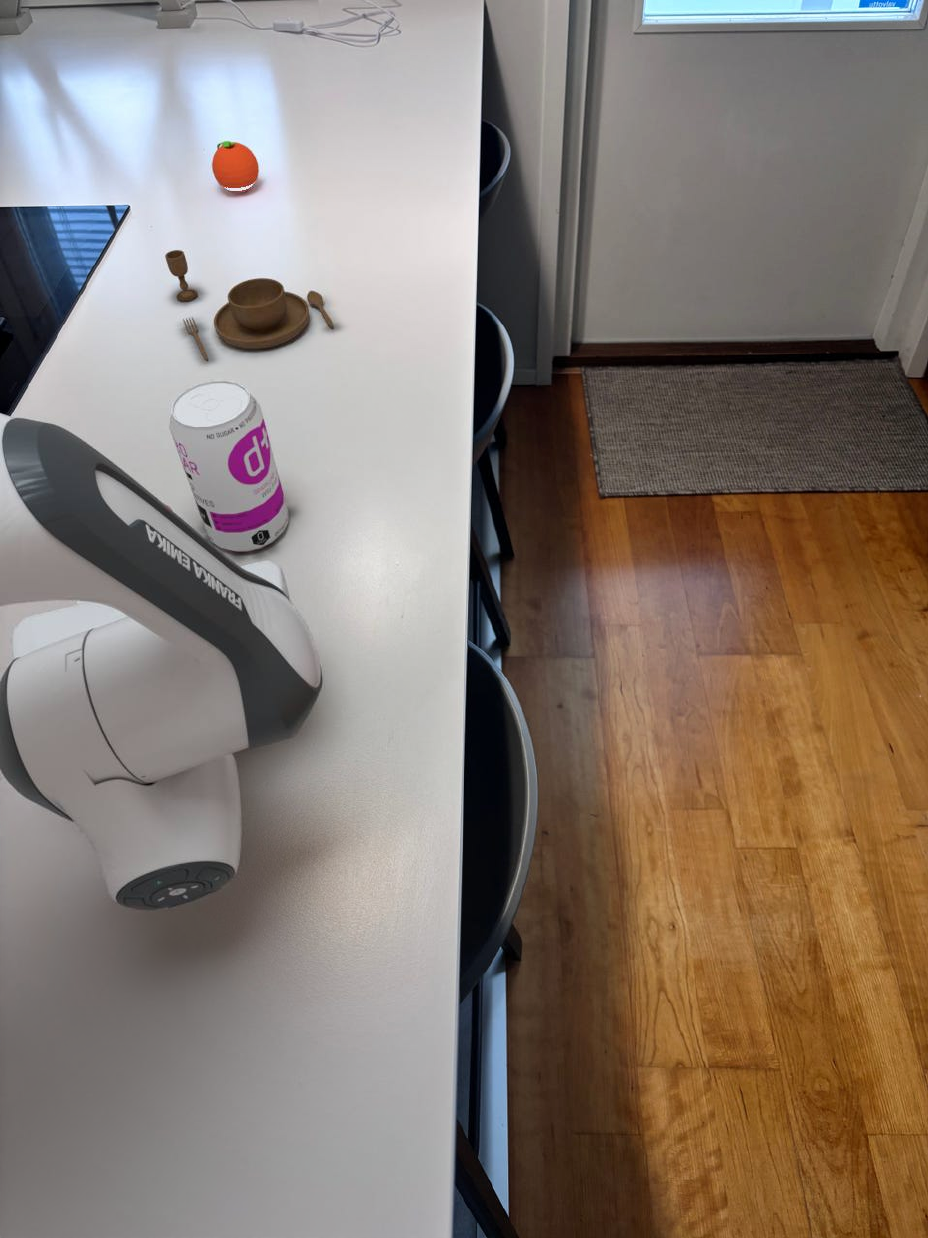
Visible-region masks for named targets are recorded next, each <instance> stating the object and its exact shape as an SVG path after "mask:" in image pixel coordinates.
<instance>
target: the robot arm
mask: <svg viewBox="0 0 928 1238" xmlns="http://www.w3.org/2000/svg"><path fill="white" fill-rule="evenodd" d="M163 503H164V502H162V501H161V500H160V499H159V498H157V497H156V496H155V495H154V494H152V492H150V491H149V490H148V489H147V488H146V487H144V486H143V485H142V484H140V482H138V481H137V480H135V479H134V478H133V477H132V476H131V475H129V474H128V473H127V472H126V471H124V470H123V469H122V468H121V467H119V466H118V465H117V464H115V462H113V461H112V460H110V459H109V458H108V457H107V456H105V455H104V454H103V453H102V452H100V451H99V450H97V449H96V448H94V447H93V446H92V445H91V444H89V443H88V442H86V441H85V440H83V439H82V438H81V437H79V436H77V435H76V434H74V433H73V432H71V431H69V430H67V429H66V428H64V427H62V426H60V425H57V424H54V423H51V422H50V423H49V422H44V421H38V420H34V419H30V418H29V419H28V418H23V417H15V416H14V417H13V416H11V415H7V414H4V413H1V412H0V607H6V606H7V607H8V606H13V605H20V604H29V603H39V602H56V601H62V602H63V601H68V602H69V601H70V602H71V601H73V602H76V603H75V605H71V606H67V607H63V608H58V609H54V610H49V611H46V612H42V613H41V612H40V613H37V614H32V615H28V616H25V617H24V618H23V619H21V620H20V621H19V622H18V623H17V625H16V626H14V627H13V629H12V632H11V655H12V661H11V662H10V663H9V665H8V667H6V669H5V671H4V672H3V674H2V676H1V679H0V772H1V773H2V775H3V777H4V779H5V780H6V781H7V782H8V784H10V786H11V787H12V788H13V789H14V790H15V791H16V792H18V794H20V795H21V796H22V797H24V798H26V799H27V800H29V801H31V802H33V803H34V804H36V805H38V806H40V807H42V808H43V809H46V810H48V811H49V812H51V813H54V814H55V815H57V816H59V817H60V818H63V819H65V820H67V821H69V822H72V823H74V824H76V826H77V827H78V829H79V830H80V831H81V832H82V834H83V835H84V836H85V838H86V839H87V841H88V842H89V844H90V846H91V847H92V849H93V851H94V853H95V855H96V858H97V860H98V863H99V865H100V869H101V873H102V876H103V880H104V884H105V887H106V889H107V892H108V895H109V896H110V897H111V899H112V900H113V901H114V902H116V904H118V905H120V906H122V907H125V908H127V909H128V908H129V909H134V910H139V911H156V910H164V909H174V908H177V907H179V906H182V905H186V904H189V903H192V902H194V901H197V900H199V899H202V898H204V897H207V896H209V895H212V894H214V893H215V892H218V891H219V890H221V889H222V888H223V887H224V886H225V885H227V884H228V883H230V882H231V881H232V880H233V878H234V877H235V876H236V874H237V872H238V869H239V865H240V861H241V851H242V803H241V802H242V801H241V791H240V790H241V789H240V780H239V772H238V766H237V762H236V758H235V756H234V753H237V752H240V751H243V750H245V749H249V750H252V749H256V748H259V747H263V746H266V745H270V744H273V743H277V742H280V741H284V740H288V739H291V738H294V737H295V736H297V734H298V732H299V731H300V729H301V728H302V726H303V725H304V723H305V722H306V720H307V718H308V717H309V715H310V714H311V711H312V710H313V708H314V705H315V704H316V701H317V700H318V698H319V695H320V693H321V691H322V687H323V680H324V679H323V671H322V667H321V660H320V656H319V651H318V648H317V645H316V641H315V638H314V636H313V634H312V631H311V629H310V627H309V624H308V623H307V621H306V619H305V618H304V616H303V614H302V613H301V611H300V610H299V609H298V608H297V606H295V604H294V603H293V601H292V600H291V598H290V597H291V596H290V593H289V589H288V584H287V580H286V577H285V574H284V572H283V571H284V570H283V569H282V567H281V566H280V565H279V564H278V563H275V562H273V561H272V560H269V559H267V560H266V559H265V560H260V561H256V562H252V563H248V564H244V565H238V564H237V563H236V562H235V561H233V560H232V559H230V557H228V556H227V555H226V554H225V553H223V552H222V551H221V550H219V548H218V547H216V546H215V545H214V544H213V543H211V542H210V541H209V540H208V539H207V538H206V537H204V536H203V535H202V534H201V533H200V532H199V531H197V530H196V529H195V528H194V527H192V526H191V525H190V524H189V523H188V522H186V521H185V520H184V519H183V518H181V517H180V516H179V515H178V514H177V513H175V511H174V510H173V509H172V508H171V509H172V510H171V509H169V508H168V507H167V506H168V505H167V504H166V505H167V506H166V505H165V503H164V504H163Z"/></svg>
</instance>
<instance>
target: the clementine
mask: <svg viewBox="0 0 928 1238" xmlns="http://www.w3.org/2000/svg"><path fill="white" fill-rule="evenodd" d="M216 145H217V146H216V151H215V152H214V154H213V157H212V162H211V168H212V173H213V175H214V178H215V181H216V182H217V183H218V184H219V185H220V186H221V187H222V186H223V187H226V188H227V187H228V188H241V187H246V186H249V185H251V184H253V183H254V182H255V181H256V182H257V180H258V178H259V172H260V168H259V167H260V166H259V162H258V160H257V157H256V156H255V153H254V152H253V151H252V150H251V149H250V148H249V147H248V146H247V145H245V144H242V143H240V142H236V141H229V140H226V141H225V140H224V141H222V142H220V143H218V144H216ZM256 182H255V183H256ZM223 187H222V188H223ZM250 189H252V187H250V188H249V189H246V190H242V191H229V190H227V191H228V192H231V193H235V194H236V193H243V192H247V191H249V190H250Z"/></svg>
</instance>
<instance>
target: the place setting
mask: <svg viewBox="0 0 928 1238" xmlns="http://www.w3.org/2000/svg"><path fill="white" fill-rule="evenodd" d="M164 257H165V261H166V264H167V267H168V270H169V272H170V273H171V275H172V276H174V277H177V278H178V280H179V288H180V289H181V290H182V291H179V292H178V293H177V295H176V300H177V301H178V302H181V303H188V302H191V301H194V300H195V299H197V297H198V294H199V293H198V292H197V290H195V289H188V288H189V284H188V282H187V280H186V277H185V276H186V274H187V273H188V271H189V267H188V262H187V261H188V260H187V258H186V255H185V252H184V251H183V250H181V249H174V250H171V251H168V252H167V253H165V255H164ZM323 299H324V298H323V296H322V295H321V293H319V292H317V291H315V290H309V292H307V294H306V300H307V301H308V302H309V303H310V304H311V305H312V306H315V307H317V308H318V310H319V311H320V312H321V314H322V316H323V318H324V320H325V322H326V324H327V325H328V326H329V327H330V328H334V323H333V321H332V318H331V317H330V316H329V314H328V313H327V311H326V310H325V308H324V307H323V305H322V304H323ZM306 300H305V298H303V297H301V296H300V295H298V294H297V293H296V294H295V293H293V292H289V291H285V287H284V285H283V284H282V282H279V281H278V280H275V279H272V278H267V277H259V278H258V277H257V278H251V279H248V280H244V281H241V282H239V283H238V284H236V285H234V286H233V287H232V288H230V290H229V292H228V294H227V301H228V302H226V303H225V304H224V305H222V307H220V308H219V310H218V311H217V312H216V314H215V316H214V317H213V327H214V329H215V333H216V334H217V335H218V337H219V338H220V339H221V340H222V341H224V342H226V343H227V344H229V345H230V346H234V347H237V348H241V349H248V350H258V349H267V348H272V347H276V346H279V345H282V344H285V343H286V342H288V341H291V340H292V339H293V338H295V337H296V336H298V335H299V334H300V333H301V332H302V331H303V330H304V329H305V327H306V326H307V324H308V322H309V318H310V309H309V305H308V303H307V301H306ZM182 321H183V324H184V326H185V329H186V331H187V333H188V334H190V335H193V338H194V340H195V342H196V344H197V347H198V349H199V351H200V353H201V355H202V357H203V359H204V360H205V361H208V360H209V358H208V354H207V351H206V350H205V348H204V346H203V343H202V341H201V339H200V337H199V335H198V334H197V333H198V331H199V328H198V326H197V323H196V321H195V319H194V317H193V316H191V318H190V317H188V319H187V318H185V319H184V318H183V319H182ZM189 322H190V323H189Z"/></svg>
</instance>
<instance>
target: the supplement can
mask: <svg viewBox="0 0 928 1238" xmlns="http://www.w3.org/2000/svg"><path fill="white" fill-rule="evenodd" d="M170 413H171V414H170V418H169V424H168V425H169V426H168V429H169V431H170V434H171V438H172V439H173V443H174V446H175V448H176V451H177V453H178V457H179V460H180V462H181V465H182V468H183V471H184V473H185V476H186V479H187V481H188V484H189V488H190V490H191V493H192V495H193V499H194V501H195V504H196V506H197V510H198V512H199V515H200V517H201V520H202V524H203V526H204V530H205V532H206V534H207V536H208V538H209V540H210V541H211V542H212V544H215V545H216V546H217V547H219V548H221V549H225V550H228V551H233V552H237V553H238V552H239V553H240V552H243V553H244V552H252V551H255V550H260V549H262V548H264V547H266V546H268V545H270V544H272V543H273V542H274V541H276V539H278V537H280V536H281V534H283V533H284V531H285V530H286V528H287V525H288V523H289V522H290V521H289V520H290V519H289V509H288V506H287V501H286V497H285V494H284V489H283V486H282V482H281V479H280V475H279V471H278V467H277V463H276V460H275V456H274V451H273V449H272V444H271V441H270V437H269V434H268V430H267V426H266V423H265V418H264V414H263V411H262V407H261V404H260V403H259V402H258V400H257V399H256V397H254V396H253V395H252V394H251V393H250V392H249V390H248V389H247V387H246V386H244V385H242V384H241V383H239V382H237V381H232V380H227V379H215V380H214V379H213V380H208V381H204V382H199V383H197V384H195V385H192V386H190V387H188V388H186V389H185V390H184V391H182V392H181V393H179V394H178V395H177V396H176V397H175V399H174V400H173V402H172V404H171V412H170Z"/></svg>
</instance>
